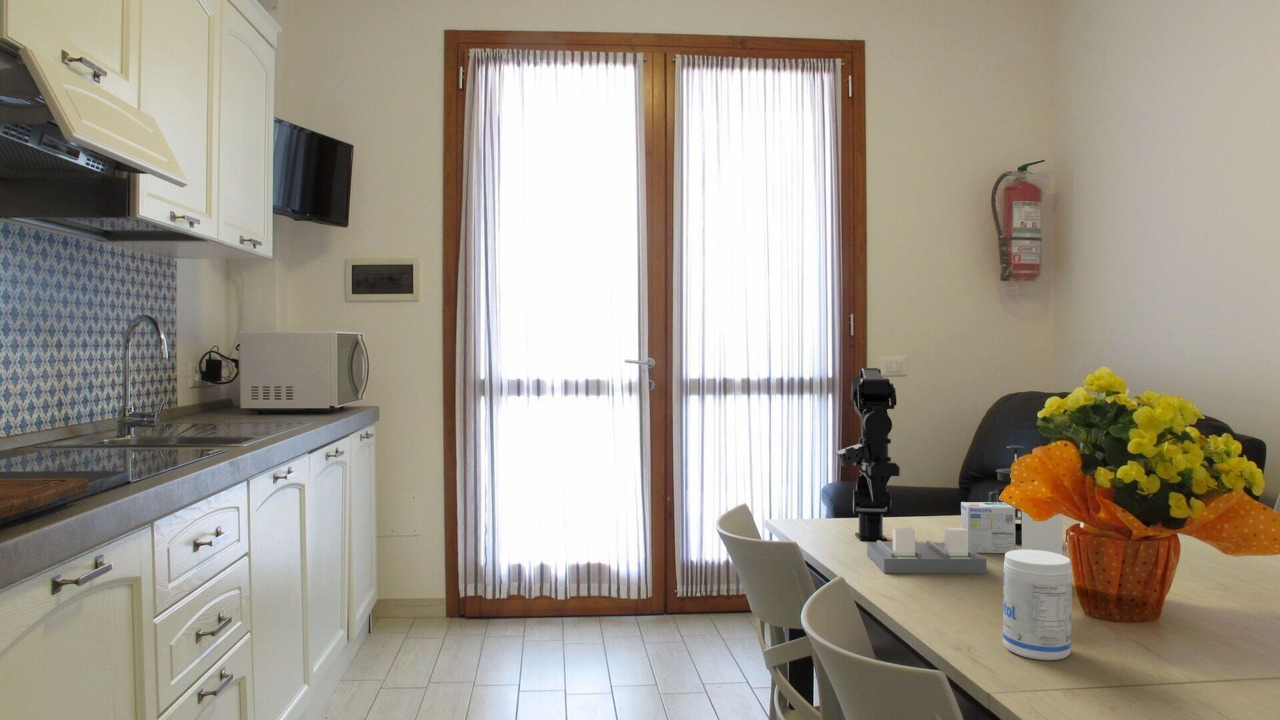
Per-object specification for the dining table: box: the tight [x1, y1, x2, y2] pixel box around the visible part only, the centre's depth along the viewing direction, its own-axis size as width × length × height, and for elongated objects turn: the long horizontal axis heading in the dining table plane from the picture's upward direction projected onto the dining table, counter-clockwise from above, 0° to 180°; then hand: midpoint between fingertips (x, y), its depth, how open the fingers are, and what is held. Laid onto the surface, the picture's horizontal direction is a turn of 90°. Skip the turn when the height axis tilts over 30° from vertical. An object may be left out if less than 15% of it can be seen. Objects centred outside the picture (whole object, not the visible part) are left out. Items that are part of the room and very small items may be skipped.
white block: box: [892, 527, 916, 556], centre depth 177 cm, size 3×4×5 cm
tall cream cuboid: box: [944, 527, 968, 556], centre depth 176 cm, size 3×4×5 cm
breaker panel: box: [866, 539, 987, 575], centre depth 181 cm, size 15×21×4 cm
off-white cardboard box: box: [1021, 511, 1063, 555], centre depth 165 cm, size 7×7×19 cm
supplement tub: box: [1002, 549, 1073, 661], centre depth 128 cm, size 10×10×15 cm
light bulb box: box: [960, 501, 1016, 554], centre depth 193 cm, size 11×7×11 cm, turn 84°
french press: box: [988, 445, 1026, 546], centre depth 202 cm, size 12×9×23 cm
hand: (875, 502), depth 189 cm, fingers closed
